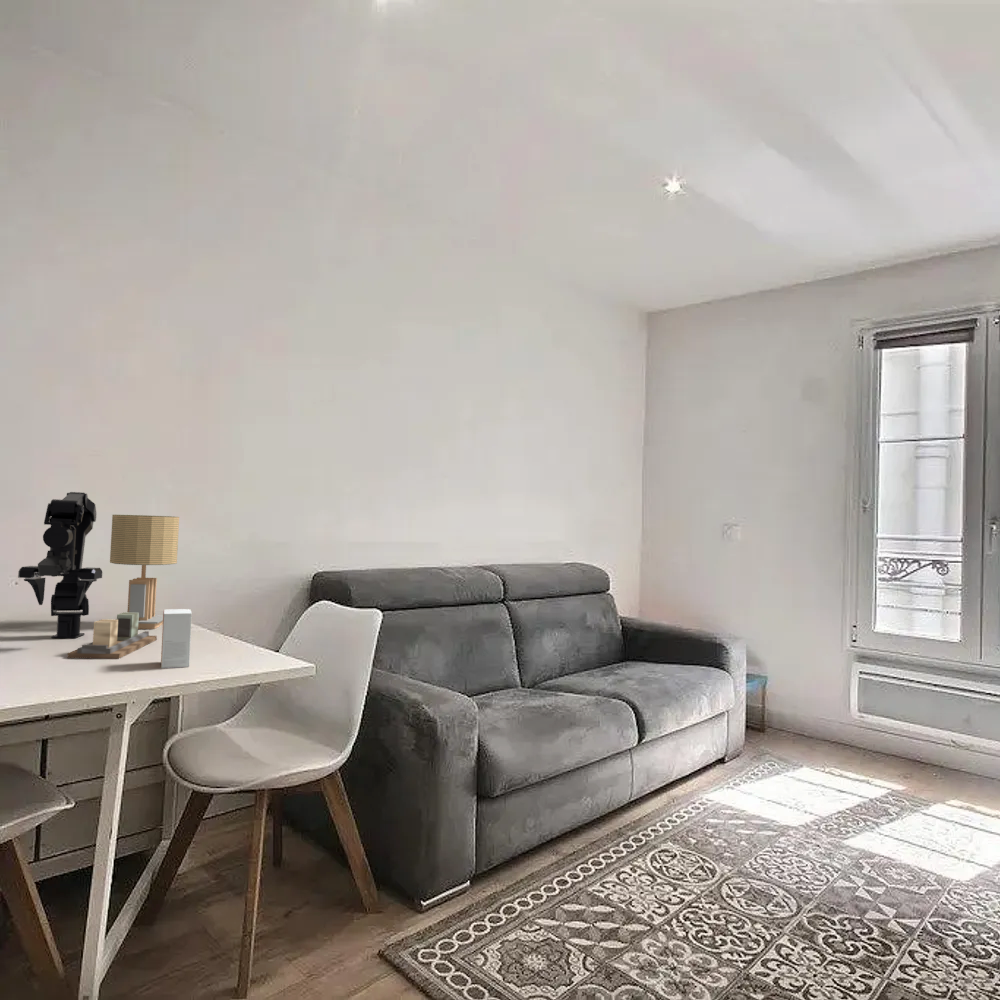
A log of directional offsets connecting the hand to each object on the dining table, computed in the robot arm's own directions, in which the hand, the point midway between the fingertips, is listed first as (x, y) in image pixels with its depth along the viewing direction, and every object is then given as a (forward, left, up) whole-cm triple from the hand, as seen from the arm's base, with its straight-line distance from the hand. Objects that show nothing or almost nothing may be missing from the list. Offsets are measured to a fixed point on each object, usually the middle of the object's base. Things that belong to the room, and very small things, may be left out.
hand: (59, 605), depth 193 cm
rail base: (+1, +15, -11) cm, 19 cm away
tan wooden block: (+8, +15, -10) cm, 19 cm away
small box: (+21, +36, -11) cm, 43 cm away
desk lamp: (-39, +8, -11) cm, 41 cm away
